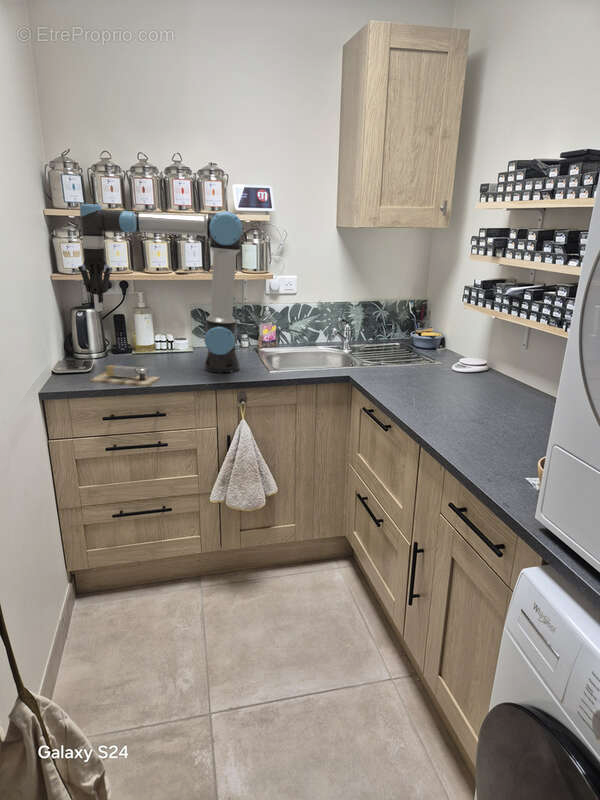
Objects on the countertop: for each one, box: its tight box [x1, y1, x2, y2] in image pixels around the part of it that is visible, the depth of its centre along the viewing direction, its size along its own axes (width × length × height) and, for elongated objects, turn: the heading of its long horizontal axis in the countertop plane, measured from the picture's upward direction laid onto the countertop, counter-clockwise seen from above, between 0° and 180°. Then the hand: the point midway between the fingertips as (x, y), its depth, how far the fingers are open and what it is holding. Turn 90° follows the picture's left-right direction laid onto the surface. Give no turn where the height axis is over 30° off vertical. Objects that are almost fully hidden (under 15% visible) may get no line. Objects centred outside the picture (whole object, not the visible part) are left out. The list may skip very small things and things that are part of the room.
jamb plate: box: [124, 373, 161, 388], centre depth 212 cm, size 10×10×4 cm
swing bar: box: [105, 364, 149, 378], centre depth 212 cm, size 16×4×4 cm, turn 82°
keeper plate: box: [89, 370, 131, 386], centre depth 214 cm, size 14×12×4 cm
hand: (98, 310), depth 210 cm, fingers closed
